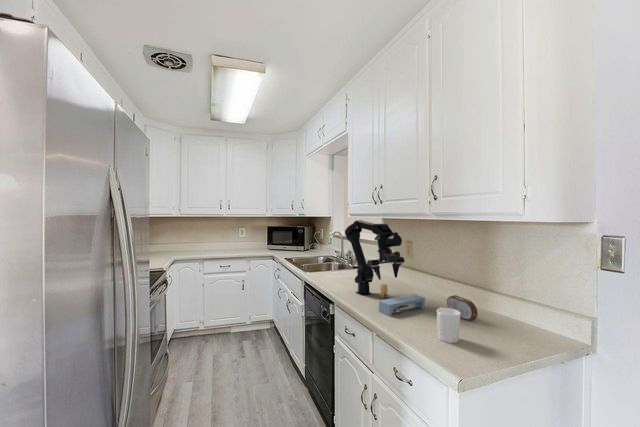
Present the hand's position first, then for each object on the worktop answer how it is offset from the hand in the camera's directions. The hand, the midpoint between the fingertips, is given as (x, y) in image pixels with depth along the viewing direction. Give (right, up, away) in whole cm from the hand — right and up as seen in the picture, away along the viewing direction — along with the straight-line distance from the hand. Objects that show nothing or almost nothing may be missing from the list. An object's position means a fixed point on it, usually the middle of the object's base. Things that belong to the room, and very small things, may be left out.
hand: (388, 278), depth 147 cm
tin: (+27, -12, -20) cm, 36 cm away
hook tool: (+1, -12, +1) cm, 12 cm away
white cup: (+12, -13, -42) cm, 46 cm away
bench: (+4, -12, -11) cm, 17 cm away
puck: (+1, -12, -13) cm, 18 cm away
